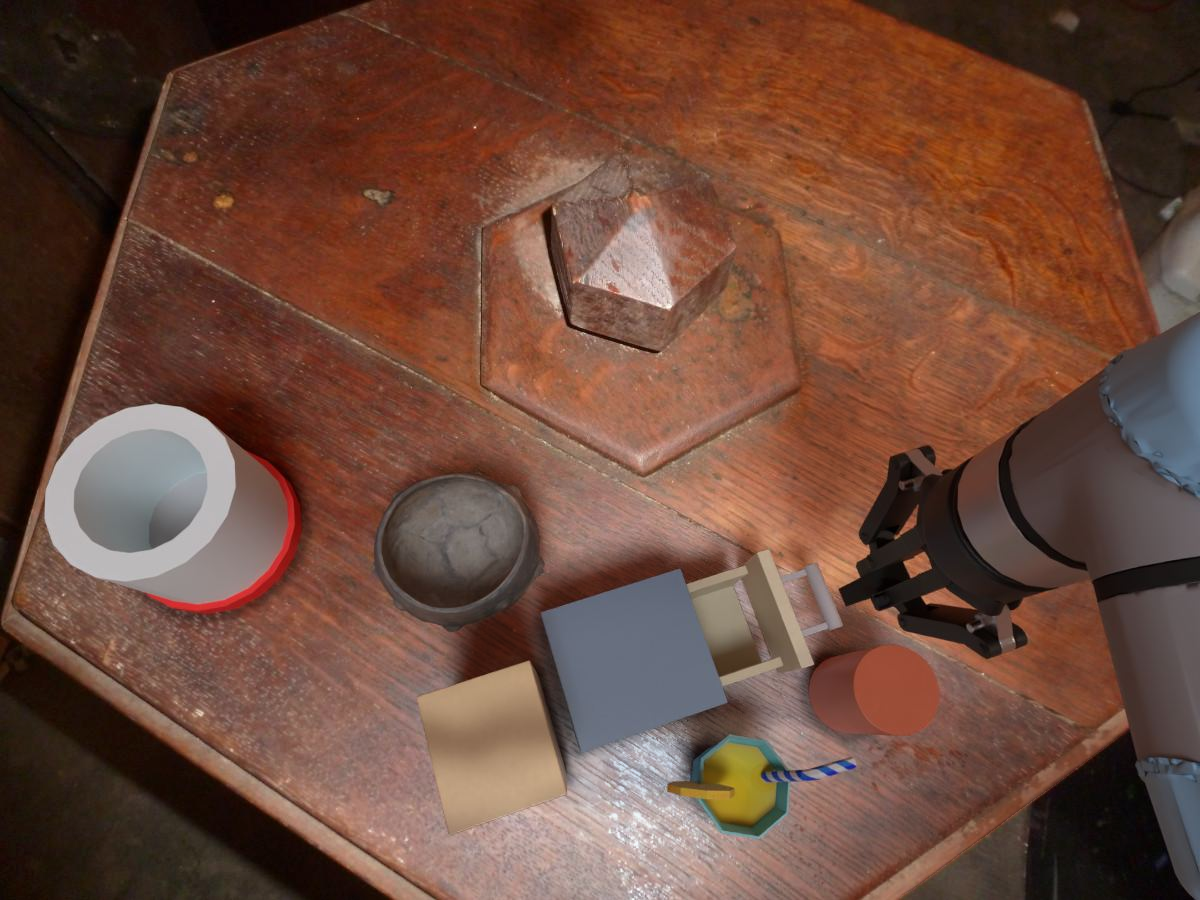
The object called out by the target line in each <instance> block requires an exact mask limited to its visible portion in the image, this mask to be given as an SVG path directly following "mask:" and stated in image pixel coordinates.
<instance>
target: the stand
mask: <svg viewBox="0 0 1200 900" xmlns="http://www.w3.org/2000/svg"><path fill="white" fill-rule="evenodd" d="M416 701H417V705H418V710H419V713H420V719H421V722H422V726H423V731H424V735H425V739H426V744H427V748H428V753H429V758H430V761H431V765H432V771H433V775H434V778H435V782H436V783H435V784H436V788H437V791H438V795H439V800H440V804H441V808H442V809H441V810H442V812H443V818H444V821H445V825H446V829H447V834H448V836H453V835H456V834H458V833H462V832H464V831H467V830H471V829H474V828H476V827H479V826H481V825H485V824H487V823H490V822H492V821H496V820H499V819H501V818H505V817H507V816H510V815H513V814H515V813H519V812H521V811H524V810H527V809H529V808H530V809H531V808H533V807H535V806H538V805H541V804H544V803H547V802H550V801H553V800H556V799H559V798H561V797H565V796H566V795H567V794H568V783H567V782H568V780H567V777H568V776H567V770H566V767H565V764H564V763H565V762H564V760H563V756H562V753H561V749H560V745H559V742H558V739H557V735H556V731H555V727H554V724H553V722H552V717H551V714H550V710H549V707H548V702H547V700H546V697H545V692H544V689H543V686H542V683H541V679H540V676H539V674H538V672H537V671H536V668H535V667H534V665H533V664H532V662H531V660H526V661H523V662H519V663H516V664H513V665H510V666H506V667H504V668H499V669H498V670H494V671H492V672H488V673H485V674H482V675H479V676H476V677H472V678H470V679H467V680H466V679H465V680H463V681H461V682H457V683H455V684H451V685H448V686H445V687H442V688H439V689H436V690H433V691H429V692H426V693H423V694H420V695H418V696H416Z"/></svg>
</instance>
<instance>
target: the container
mask: <svg viewBox="0 0 1200 900" xmlns="http://www.w3.org/2000/svg"><path fill="white" fill-rule="evenodd" d="M44 492H45V495H44V517H43V519H44V522H45V525H46V528H47V531H48V534H49V537H50V540H51V543H52V545H53V547H54V548H55V549H56V550H57V551H58V552H59V554H61V556H62V557H63V558H64V559H65V560H66V562H67V563H68V564H69V565H71V566H72V567H74V568H76V569H78V570H79V571H82V572H83V573H86V574H88V575H89V576H92V577H93V578H95V579H98V580H102V581H104V582H105V581H106V582H109V583H111V584H115V585H119V586H122V587H126V588H129V589H132V590H134V591H135V590H136V591H139V592H142V593H145V595H147V596H148V597H149V598H151V599H153V600H155V601H158V602H159V603H162V604H163V605H165V606H167V607H169V608H172V609H175V610H178V611H182V612H189V613H197V614H205V615H210V614H217V613H220V612H226V611H232V610H237V609H238V608H240V607H242V606H244V605H246V604H248V603H250V602H252V601H254V600H256V599H259V598H260V597H262V595H264V594H265V593H266V592H267V591H268V590H269V589H270V588H271V587H273V586H274V585H275V584H276V583H277V582H279V580H281V578H282V577H283V575H284V574H285V572H286V571H287V569H288V567H289V566H290V564H291V563H292V561H293V559H294V558H295V556H296V553H297V551H298V546H299V542H300V538H301V535H302V531H303V527H302V525H303V524H302V513H301V504H300V501H299V499H298V497H297V495H296V492H295V490H294V488H293V486H292V484H291V482H290V481H289V480H288V479H287V478H286V477H285V476H284V475H283V474H282V473H281V472H280V471H279V470H278V469H277V468H276V466H274V465H273V464H271V462H269V461H268V460H266V459H265V458H262V457H260V456H258V455H256V454H254V453H252V452H250V451H248V450H245V449H243V447H241V446H240V445H239V444H238V443H237V442H235V440H233V439H232V438H230V437H229V436H228V435H227V434H226V433H224V432H223V431H222V430H221V429H220V428H219V427H218V426H216V425H215V424H214V423H212V422H211V421H210V420H209V419H208V418H206V417H204V416H202V415H200V414H198V413H196V412H194V411H191V410H190V409H188V408H186V407H183V406H175V405H168V404H160V403H152V404H144V405H139V406H130V407H125V408H124V409H121V410H120V411H119V410H118V411H116V412H115V413H112V414H110V415H107V416H105V417H103V418H100V419H98V420H96V422H94V423H93V424H91V426H89V427H88V428H87V429H85V430H84V431H82V433H80V434H79V435H78V436H76V437H75V438H74V439H73V440H72V442H71V443H70V444H69V445H68V446H67V448H66V449H65V451H64V452H63V453H62V455H61V456H60V458H58V460H57V461H56V462H55V465H54V468H53V470H52V473H51V475H50V478H49V481H48V483H47V486H46V489H45V491H44Z"/></svg>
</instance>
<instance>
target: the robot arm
mask: <svg viewBox="0 0 1200 900" xmlns="http://www.w3.org/2000/svg"><path fill="white" fill-rule="evenodd" d="M1107 363H1108V364H1107V365H1106V366H1105V367H1104V368H1103V369H1102V370H1100V371H1099V372H1098V373H1096V374H1095V375H1093V376H1092V377H1091V378H1090V379H1088V380H1087V381H1085V382H1084V383H1082V384H1081V385H1079V386H1078V387H1076V388H1075V389H1074V390H1072V391H1070V392H1069V393H1068V394H1066V395H1065V396H1064V397H1062V398H1060V399H1059V400H1058V401H1057V402H1055V403H1054V404H1052V405H1050V406H1049V407H1048V408H1046V409H1045V410H1042V411H1041V412H1039V413H1038V414H1036V415H1033V416H1032V417H1031V418H1029V419H1027V420H1025V421H1024V422H1023V423H1021V424H1019V425H1018V426H1016V427H1015V428H1013V429H1011V430H1010V431H1008V432H1007V433H1005V434H1004V435H1001V437H999V438H998V439H996V440H994V441H993V442H991V443H990V444H988V445H987V446H985V447H983V449H981V450H980V451H978V452H977V453H976V454H974V455H972V456H970V457H969V458H967V459H966V460H965V461H963V462H962V463H959V465H957V466H955V467H954V468H946V469H942V471H941V470H940V469H938V467H936V462H937V455H936V452H935V449H934V448H933V447H932V446H931V445H929V444H924V445H922V446H918V447H915V448H913V449H910V450H906V451H904V452H903V451H902V452H900V453H897V454H893V455H891V456H890V457H889V458H888V464H887V474H886V481H885V482H884V484H883V486H882V487H881V490H880V492H879V493H878V495H877V497H876V499H875V501H874V502H873V504H872V506H871V508H870V509H869V511H868V513H867V515H866V517H865V518H864V520H863V522H862V524H861V526H860V527H859V529H858V538H859V540H860V541H861V543H862V544H863V545H864V546H868V547H869V554H867V555H866V556H865V557H864V558H861V559H860V560H858V561H857V562H856V563H855V568H856V571H857V573H858V575H859V577H858V578H857V579H854V580H852V581H850V582H849V583H847V584H845V585H843V586H841V587H838V589H837V590H838V592H839V594H840V597H841V599H842V601H843V603H844V606H845V608H847V607H850V606H852V605H856V604H858V603H863V602H865V601H867V600H870V602H871V604H872V606H873V608H874V610H875V611H877V612H883V611H885V610H887V609H891V608H894V609H896V610H897V611H898V614H897V615H896V620H897V623H898V626H899V627H900V629H901V630H902V631H903V632H907V633H911V634H916V635H920V636H924V637H929V638H933V639H937V640H942V641H947V642H951V643H955V644H960V645H964V646H966V647H967V648H968V649H970V650H971V651H973V652H974V653H975V654H977V655H979V656H980V657H982V658H983V659H985V660H990V659H992V658H995V657H998V656H1001V655H1004V654H1007V653H1009V652H1012V651H1014V650H1017V649H1020V648H1023V647H1026V646H1027V645H1028V642H1029V639H1028V635H1027V633H1026V631H1024V629H1023V628H1022V627H1021V626H1020V625H1018V624H1017V623H1015V622H1013V620H1012V611H1015V610H1017V609H1018V608H1019V607H1020V606H1021V604H1022V603H1023V600H1024V599H1025V598H1029V597H1033V596H1036V595H1039V594H1042V593H1047V592H1050V591H1053V590H1056V589H1059V588H1064V587H1069V586H1072V585H1075V584H1079V583H1081V582H1085V581H1089V580H1090V582H1091V584H1092V586H1093V591H1094V594H1095V597H1096V603H1097V606H1098V611H1099V614H1100V619H1101V623H1102V626H1103V630H1104V634H1105V639H1106V642H1107V647H1108V650H1109V654H1110V658H1111V663H1112V665H1113V670H1114V673H1115V677H1116V681H1117V685H1118V689H1119V693H1120V697H1121V700H1122V704H1123V709H1124V713H1125V717H1126V720H1127V724H1128V728H1129V731H1130V736H1131V739H1132V743H1133V748H1134V751H1135V756H1136V761H1135V763H1134V767H1135V768H1136V770H1137V774H1138V775H1137V776H1138V777H1140V780H1141V781H1143V783H1145V787H1146V790H1147V794H1148V795H1149V796H1148V797H1149V799H1150V802H1151V804H1152V808H1153V810H1154V813H1155V816H1156V819H1157V823H1158V825H1159V828H1160V831H1161V834H1162V837H1163V841H1164V843H1165V846H1166V849H1167V852H1168V856H1169V858H1170V859H1169V860H1170V862H1171V865H1172V867H1173V871H1174V874H1175V876H1176V878H1177V880H1178V881H1179V883H1180V885H1181V886H1182V887H1183V889H1184V890H1185V891H1186V892H1187V894H1188V895H1189V896H1190V897H1192V898H1193V900H1200V311H1199V312H1196V313H1195V314H1193V315H1191V316H1189V317H1188V318H1186V319H1184V320H1182V321H1180V322H1179V323H1177V324H1175V325H1174V326H1172V327H1170V328H1168V329H1167V330H1164V331H1163V332H1161V333H1158V335H1156V336H1154V337H1152V338H1151V339H1148V340H1147V341H1144V342H1143V343H1138V344H1136V345H1135V346H1134V347H1133V348H1129V349H1123V350H1122V351H1121V352H1120V353H1118V354H1117V355H1116V356H1115V357H1114V358H1112V359H1111V360H1109V361H1108V362H1107ZM916 508H917V512H916V513H917V514H916V521H915V525H914V526H913V527H911V528H910V529H908V530H906V531H904V532H903V533H901V534H900V532H901V531H902V530H903V529H904V527H905V526H906V524H907V522H908V520H910V518H911V517H912V515H913V513H914V511H916ZM898 535H899V536H898ZM896 536H898V537H897V538H895V537H896ZM923 553H924V554H925V555H926V557H927V558H928V561H929V564H930V567H931V568H929V569H927V570H925V571H922V572H921V573H920V572H919V573H918V574H917V575H915V576H912V577H911V576H910V574H909V571H908V569H907V567H906V565H905V563H904V562H906V561H907V562H908V561H909V560H913V559H915V558H916V556H918V555H921V554H923ZM942 589H946V590H947V591H948V592H949V593H951V594H952V595H954V596H955V597H957V598H958V599H960V600H961V601H963V602H965V603H966V604H967V605H969V606H970V607H972V608H969V607H961V606H955V605H947V604H940V603H934V602H930V603H929V602H928V603H926V602H925V600H924V599H923V597H924V596H927V595H930V594H931V593H935V592H937V591H940V590H942Z"/></svg>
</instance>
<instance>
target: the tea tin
mask: <svg viewBox="0 0 1200 900" xmlns="http://www.w3.org/2000/svg"><path fill="white" fill-rule="evenodd" d="M808 696H809V697H808V698H809V702H810V705H811V707H812V710H813V711H814V713H815V715H816V717H817V718H818V719H819V720H820V721H821V722H822V723H823V724H824V725H825V726H827V727H828V728H829V729H831V730H834V731H836V732H839V733H841V734H852V735H853V734H854V735H874V736H875V735H876V736H895V737H906V736H911V735H915V734H918V733H920V732H921V731H923V730H924V729H926V728H927V727H928V726H929V725H931V723H932V722H933V720H934V718H935V717H936V715H937V713H938V709H939V706H940V700H941V699H940V697H941V695H940V686H939V682H938V679H937V676H936V674H935V672H934V670H933V668H932V667H931V666H930V664H929V663H928V661H926V659H924V658H923V656H921V655H920V654H919V653H917V652H916V651H914V650H912V649H911V648H908V647H906V646H903V645H899V644H882V645H877V646H873V647H871V648H870V647H869V648H865V649H861V650H857V651H853V652H848V653H844V654H840V655H839V654H838V655H835V656H832V657H829V658H827V659H825V660H823V661H822V662H820V663H819V664H818V665H817V666H816V668H815V669H814V670H813V672H812V675H811V677H810V679H809V685H808Z"/></svg>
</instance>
